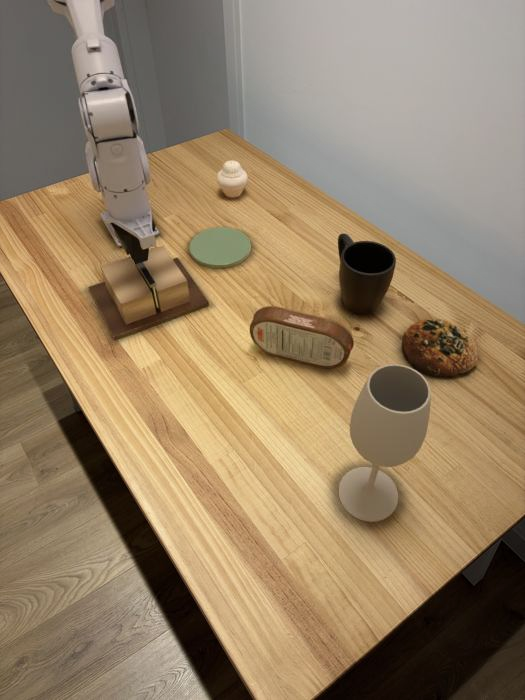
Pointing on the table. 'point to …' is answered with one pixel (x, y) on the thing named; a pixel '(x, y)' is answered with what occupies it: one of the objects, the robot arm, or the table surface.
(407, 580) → the table surface
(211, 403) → the table surface
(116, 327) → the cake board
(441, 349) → the bread roll
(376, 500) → the wineglass
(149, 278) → the knife
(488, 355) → the table surface
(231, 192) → the muffin
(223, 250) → the plate
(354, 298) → the mug
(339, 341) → the tin
